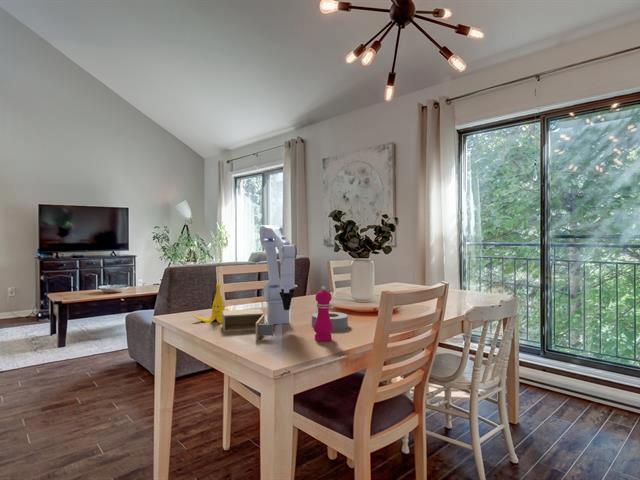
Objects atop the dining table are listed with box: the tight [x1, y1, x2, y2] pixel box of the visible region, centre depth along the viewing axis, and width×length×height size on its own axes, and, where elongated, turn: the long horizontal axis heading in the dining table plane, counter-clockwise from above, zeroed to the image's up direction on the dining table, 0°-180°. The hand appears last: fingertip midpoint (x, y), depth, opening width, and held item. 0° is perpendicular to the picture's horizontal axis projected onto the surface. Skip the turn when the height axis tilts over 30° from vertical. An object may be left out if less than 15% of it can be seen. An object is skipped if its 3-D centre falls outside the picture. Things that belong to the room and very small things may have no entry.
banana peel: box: [192, 283, 229, 324], centre depth 178 cm, size 17×19×17 cm
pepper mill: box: [313, 285, 333, 343], centre depth 146 cm, size 7×7×20 cm
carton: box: [221, 308, 265, 333], centre depth 163 cm, size 16×10×7 cm, turn 107°
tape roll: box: [311, 311, 349, 332], centre depth 167 cm, size 15×15×5 cm
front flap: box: [255, 313, 274, 340], centre depth 152 cm, size 16×6×6 cm, turn 178°
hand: (287, 308), depth 158 cm, fingers open, 7 cm apart
